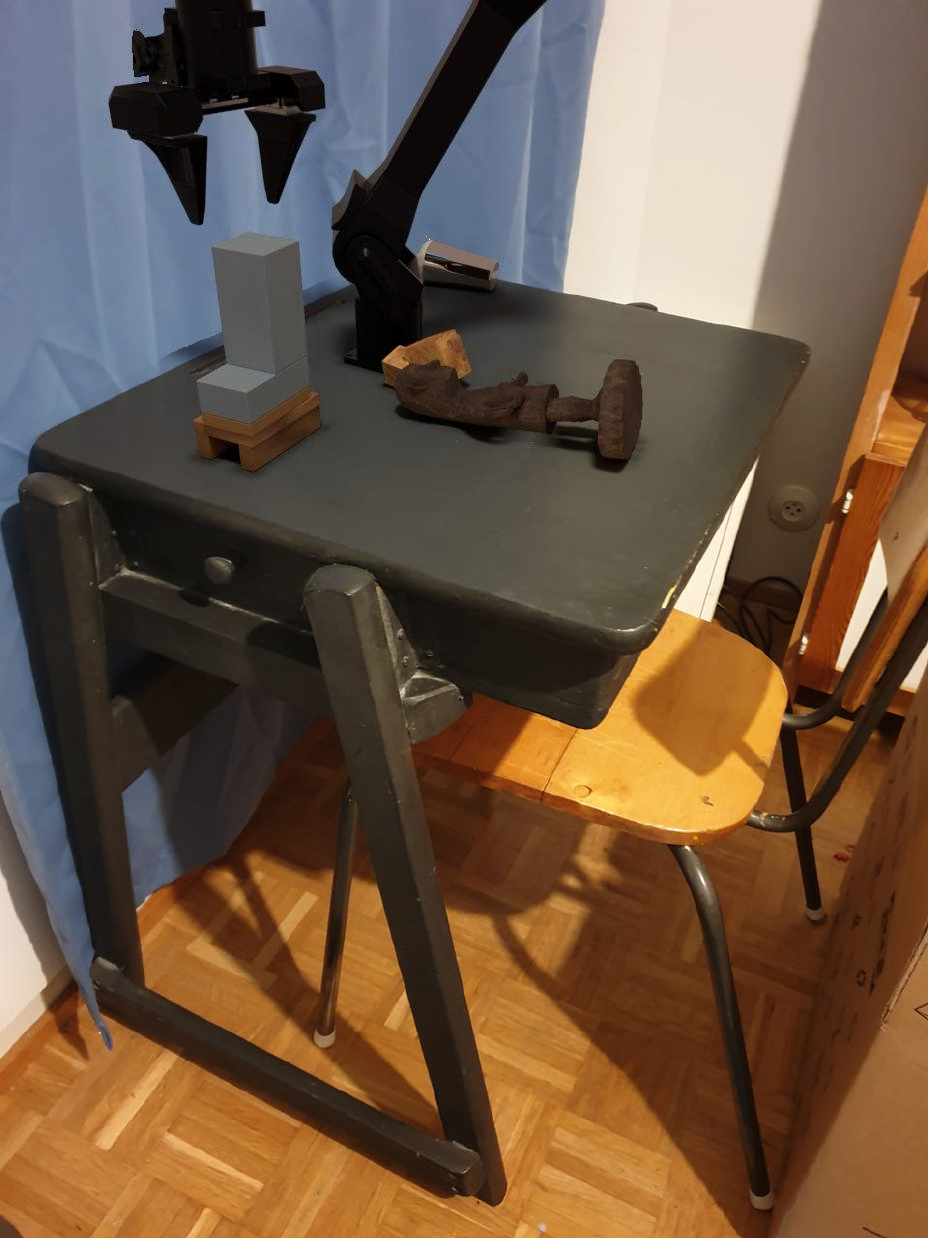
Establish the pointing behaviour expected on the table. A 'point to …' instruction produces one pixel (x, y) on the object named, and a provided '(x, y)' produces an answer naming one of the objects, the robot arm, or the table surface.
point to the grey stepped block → (257, 335)
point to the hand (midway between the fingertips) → (236, 213)
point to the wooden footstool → (261, 436)
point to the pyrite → (428, 355)
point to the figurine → (530, 403)
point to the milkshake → (456, 267)
